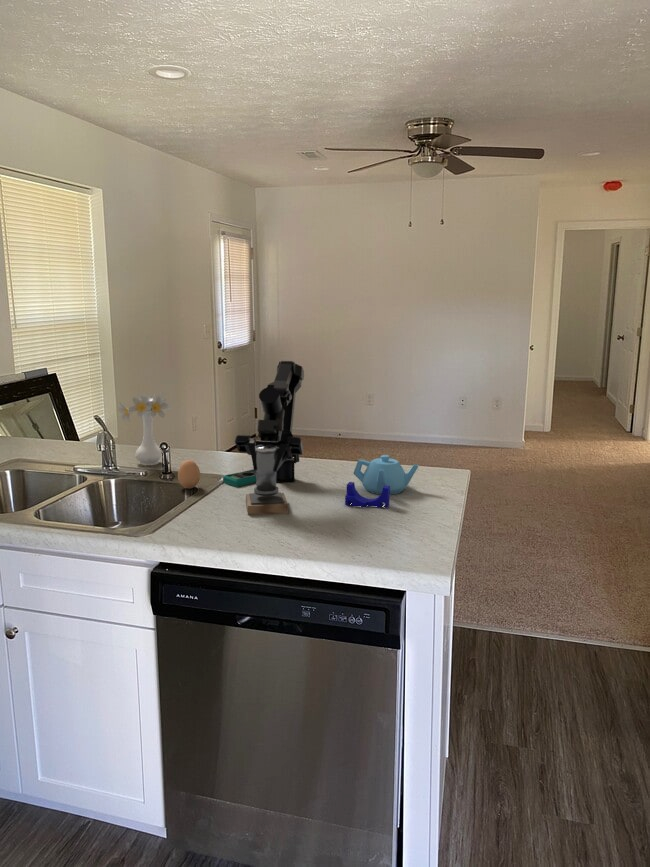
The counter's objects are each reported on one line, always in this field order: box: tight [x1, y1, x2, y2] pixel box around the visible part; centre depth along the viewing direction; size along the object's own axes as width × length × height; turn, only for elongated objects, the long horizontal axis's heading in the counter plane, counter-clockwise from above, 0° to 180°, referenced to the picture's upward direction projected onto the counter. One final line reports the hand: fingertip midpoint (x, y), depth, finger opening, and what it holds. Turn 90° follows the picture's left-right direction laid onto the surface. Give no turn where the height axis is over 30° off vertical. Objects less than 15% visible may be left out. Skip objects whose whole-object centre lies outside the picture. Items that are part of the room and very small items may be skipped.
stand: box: [245, 491, 289, 516], centre depth 188 cm, size 11×11×3 cm
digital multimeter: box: [222, 468, 256, 488], centre depth 215 cm, size 7×15×3 cm, turn 134°
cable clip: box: [344, 481, 391, 509], centre depth 191 cm, size 12×4×6 cm, turn 74°
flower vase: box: [116, 391, 172, 467], centre depth 231 cm, size 13×18×25 cm
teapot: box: [352, 454, 419, 495], centre depth 207 cm, size 15×15×11 cm
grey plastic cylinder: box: [253, 444, 279, 496], centre depth 186 cm, size 7×7×13 cm
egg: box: [177, 459, 201, 490], centre depth 205 cm, size 7×7×9 cm
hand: (265, 470), depth 185 cm, fingers closed on grey plastic cylinder, 6 cm apart
